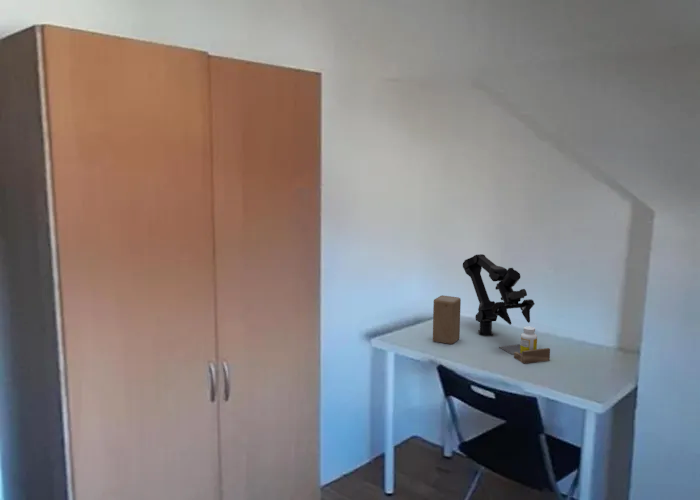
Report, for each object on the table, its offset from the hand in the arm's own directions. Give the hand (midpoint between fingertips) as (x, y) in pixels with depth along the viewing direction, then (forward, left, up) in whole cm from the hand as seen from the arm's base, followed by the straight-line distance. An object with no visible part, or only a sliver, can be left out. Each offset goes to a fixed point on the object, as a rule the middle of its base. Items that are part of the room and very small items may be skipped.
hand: (520, 323), depth 258 cm
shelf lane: (+9, +4, -13) cm, 16 cm away
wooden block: (-12, -31, -13) cm, 36 cm away
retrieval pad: (-2, -1, -13) cm, 13 cm away
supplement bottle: (+6, +3, -13) cm, 15 cm away
